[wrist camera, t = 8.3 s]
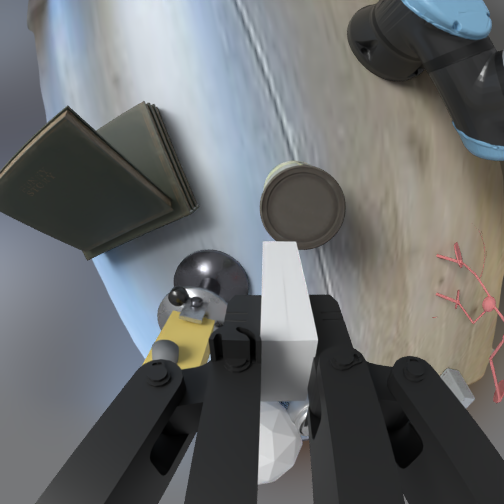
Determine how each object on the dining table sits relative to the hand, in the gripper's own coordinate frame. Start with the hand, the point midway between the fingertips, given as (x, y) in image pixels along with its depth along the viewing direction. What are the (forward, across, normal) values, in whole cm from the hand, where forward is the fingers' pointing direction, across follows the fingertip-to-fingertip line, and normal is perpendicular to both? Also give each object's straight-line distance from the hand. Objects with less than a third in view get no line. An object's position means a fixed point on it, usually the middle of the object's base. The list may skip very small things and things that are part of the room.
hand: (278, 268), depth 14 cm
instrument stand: (+34, -10, -22) cm, 41 cm away
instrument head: (+20, -11, -21) cm, 31 cm away
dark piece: (+36, -26, -2) cm, 44 cm away
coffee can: (+35, +4, -4) cm, 35 cm away
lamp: (+32, +2, -55) cm, 63 cm away
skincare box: (+31, +51, -50) cm, 78 cm away
